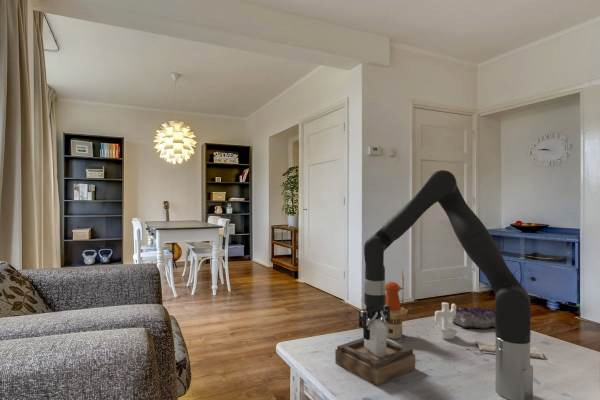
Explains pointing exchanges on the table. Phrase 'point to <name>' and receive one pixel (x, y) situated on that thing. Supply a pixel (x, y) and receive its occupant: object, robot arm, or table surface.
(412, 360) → the walnut plinth
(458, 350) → the table surface
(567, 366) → the table surface
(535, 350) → the newspaper
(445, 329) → the figurine
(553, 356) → the table surface
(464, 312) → the geode
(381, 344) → the photo printer
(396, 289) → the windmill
